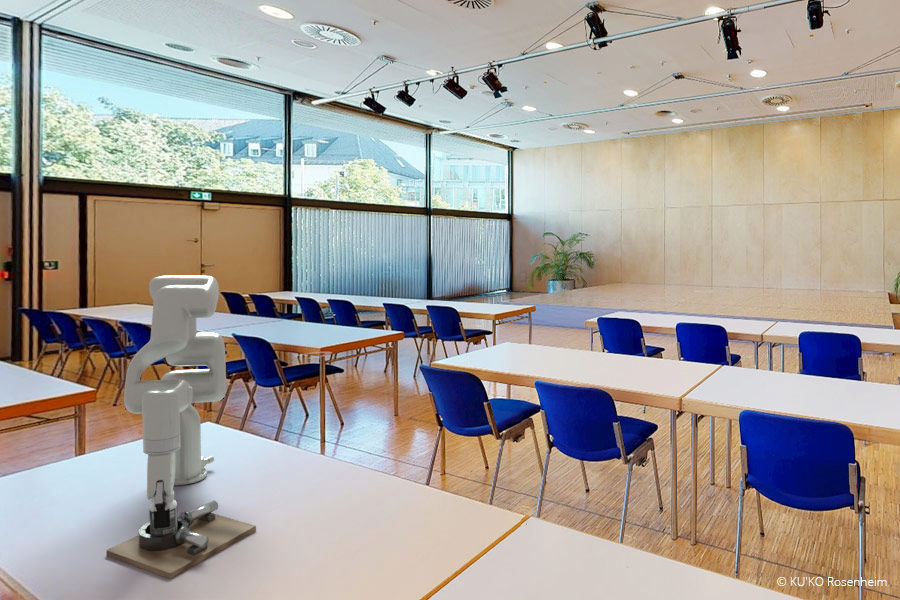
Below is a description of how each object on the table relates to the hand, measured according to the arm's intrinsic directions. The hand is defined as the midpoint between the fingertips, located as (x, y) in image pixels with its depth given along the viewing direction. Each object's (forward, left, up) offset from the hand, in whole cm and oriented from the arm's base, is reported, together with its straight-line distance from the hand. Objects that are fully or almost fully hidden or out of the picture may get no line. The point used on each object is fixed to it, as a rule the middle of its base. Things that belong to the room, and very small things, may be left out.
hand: (163, 520), depth 137 cm
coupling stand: (-3, +3, -6) cm, 7 cm away
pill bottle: (0, 0, -4) cm, 4 cm away
